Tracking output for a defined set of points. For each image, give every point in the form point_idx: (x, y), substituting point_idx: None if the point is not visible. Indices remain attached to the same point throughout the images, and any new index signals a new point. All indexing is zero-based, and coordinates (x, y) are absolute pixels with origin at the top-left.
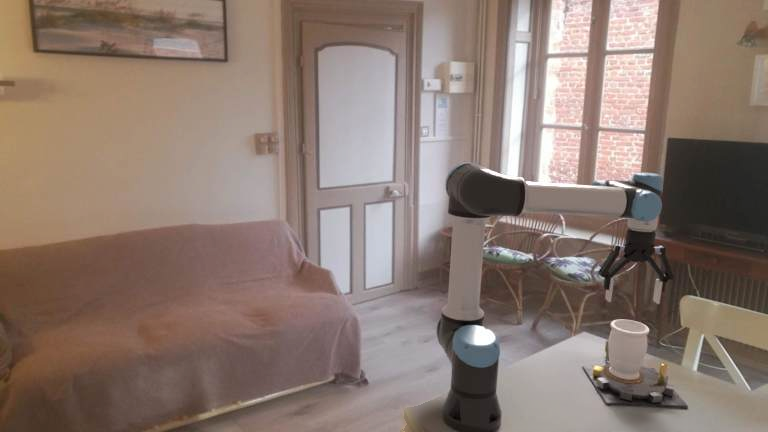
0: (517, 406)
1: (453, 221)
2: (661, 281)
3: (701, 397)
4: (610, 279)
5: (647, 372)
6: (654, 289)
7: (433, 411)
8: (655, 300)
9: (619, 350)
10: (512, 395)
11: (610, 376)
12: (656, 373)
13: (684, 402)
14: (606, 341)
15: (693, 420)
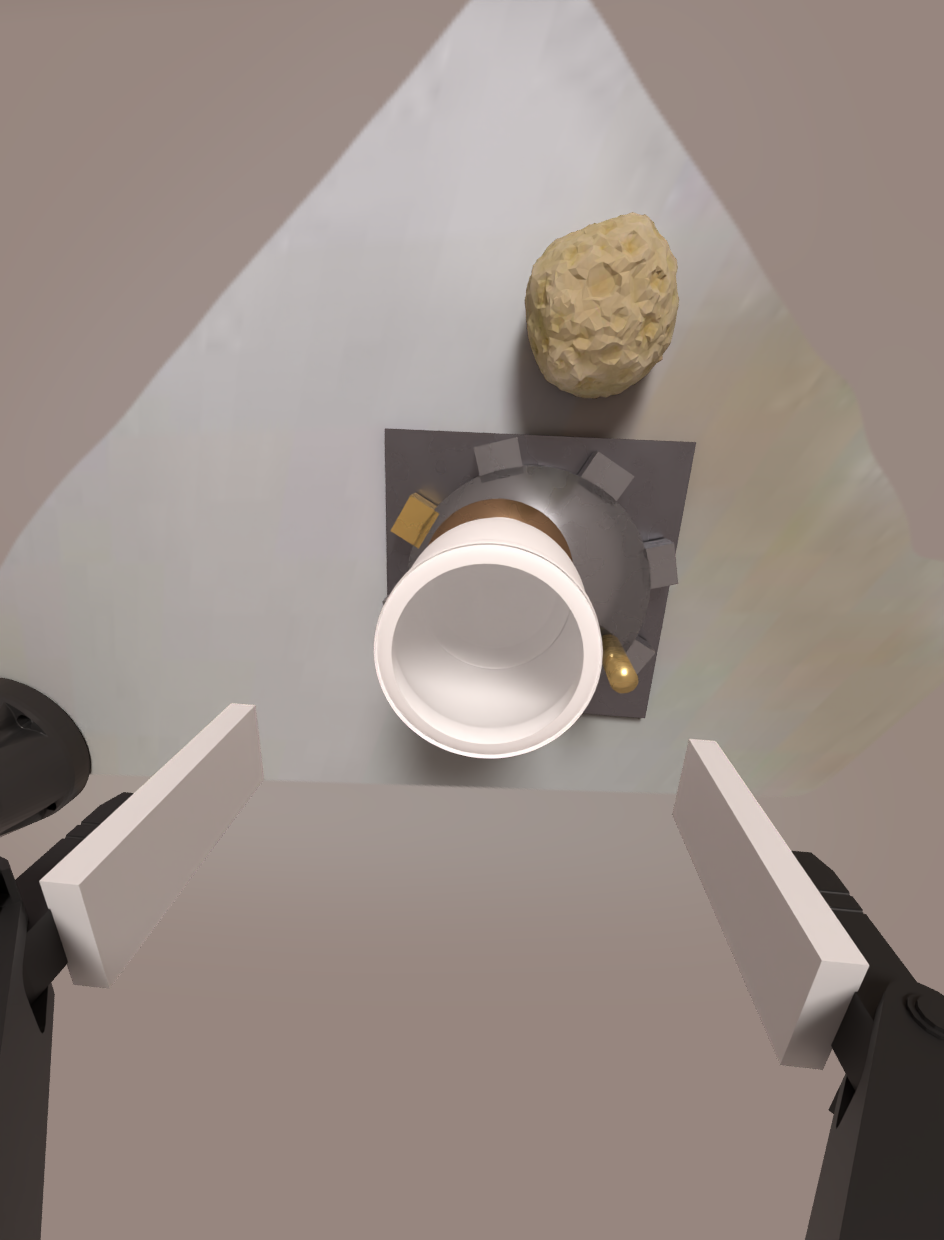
0: (131, 694)
1: None
2: (822, 1052)
3: (741, 651)
4: (69, 966)
5: (607, 554)
6: (737, 825)
7: None
8: (684, 798)
9: (426, 671)
10: (116, 637)
11: None
12: (640, 562)
13: (646, 700)
14: (533, 268)
15: (617, 770)
